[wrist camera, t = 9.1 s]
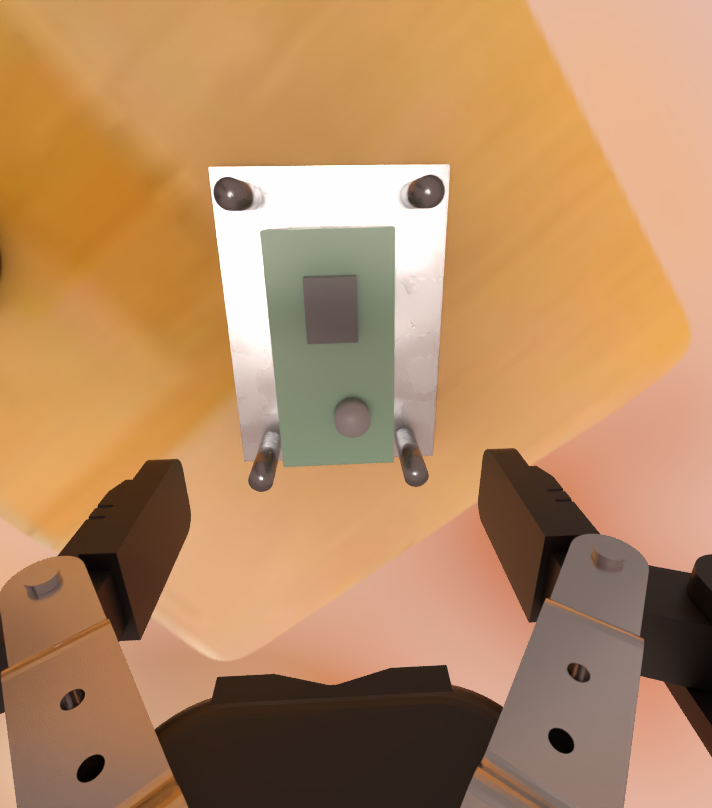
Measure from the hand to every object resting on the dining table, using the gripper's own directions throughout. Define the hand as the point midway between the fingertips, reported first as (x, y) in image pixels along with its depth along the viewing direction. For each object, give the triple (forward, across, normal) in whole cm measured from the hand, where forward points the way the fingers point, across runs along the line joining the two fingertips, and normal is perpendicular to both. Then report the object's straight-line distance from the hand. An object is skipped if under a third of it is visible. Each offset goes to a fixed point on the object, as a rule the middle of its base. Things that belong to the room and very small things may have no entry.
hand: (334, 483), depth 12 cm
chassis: (+19, 0, 0) cm, 19 cm away
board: (+14, 0, 0) cm, 14 cm away
